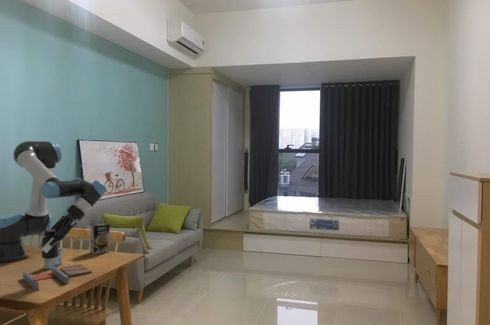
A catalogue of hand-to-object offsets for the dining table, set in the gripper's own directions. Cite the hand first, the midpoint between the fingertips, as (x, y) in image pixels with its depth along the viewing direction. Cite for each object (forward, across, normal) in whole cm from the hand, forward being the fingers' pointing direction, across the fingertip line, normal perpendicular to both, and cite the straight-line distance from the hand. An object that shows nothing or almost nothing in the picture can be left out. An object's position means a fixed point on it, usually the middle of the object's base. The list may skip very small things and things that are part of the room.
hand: (41, 249), depth 172 cm
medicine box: (+3, +22, -19) cm, 30 cm away
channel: (+9, +2, -12) cm, 16 cm away
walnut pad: (-1, +8, -23) cm, 24 cm away
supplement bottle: (+1, 0, -6) cm, 6 cm away
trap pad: (+9, +8, -12) cm, 18 cm away
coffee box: (-17, +35, -39) cm, 55 cm away
